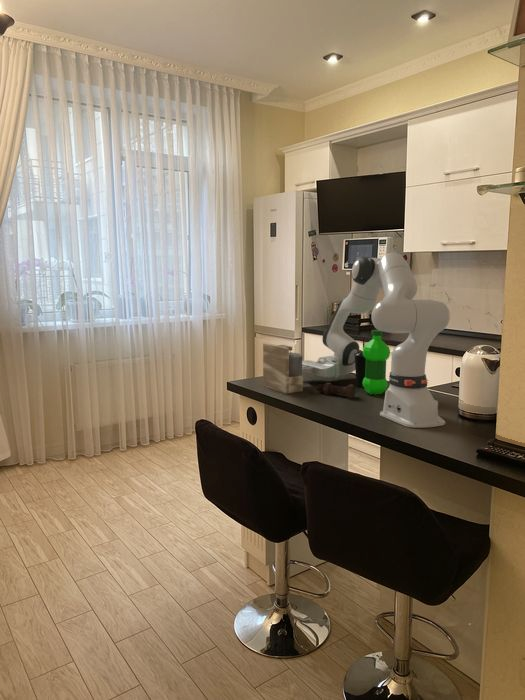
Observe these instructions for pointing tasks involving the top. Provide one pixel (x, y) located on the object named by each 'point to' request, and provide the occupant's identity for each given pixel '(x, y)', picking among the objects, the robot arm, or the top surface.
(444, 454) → the top surface
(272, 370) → the cradle
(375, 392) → the plastic bottle
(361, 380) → the drinking cup
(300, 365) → the pillar candle
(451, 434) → the top surface
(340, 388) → the bolt
